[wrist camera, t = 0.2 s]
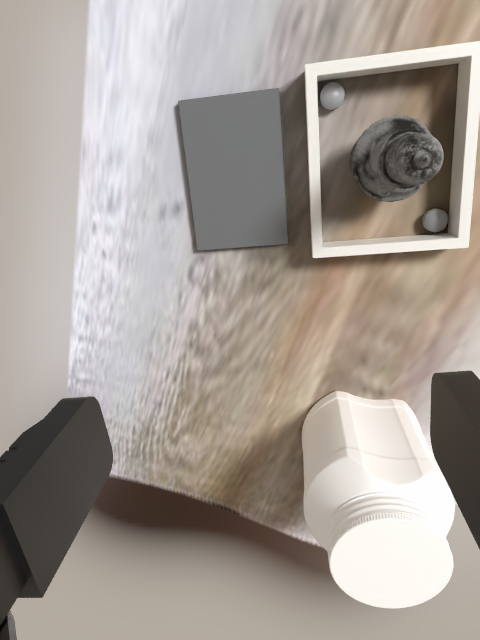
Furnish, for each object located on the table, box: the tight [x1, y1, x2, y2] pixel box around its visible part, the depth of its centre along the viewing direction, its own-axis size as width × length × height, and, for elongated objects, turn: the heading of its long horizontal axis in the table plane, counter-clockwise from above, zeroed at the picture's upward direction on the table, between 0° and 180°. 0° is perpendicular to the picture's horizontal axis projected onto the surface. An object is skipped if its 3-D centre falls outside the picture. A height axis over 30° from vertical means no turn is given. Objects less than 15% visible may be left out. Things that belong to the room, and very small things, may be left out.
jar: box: [302, 391, 455, 608], centre depth 36 cm, size 12×10×15 cm
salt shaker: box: [350, 115, 444, 202], centre depth 29 cm, size 6×6×12 cm
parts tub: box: [304, 41, 480, 258], centre depth 33 cm, size 14×12×2 cm
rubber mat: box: [178, 88, 288, 251], centre depth 36 cm, size 12×8×1 cm, turn 5°
